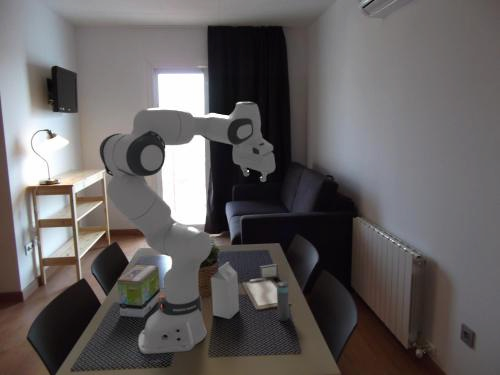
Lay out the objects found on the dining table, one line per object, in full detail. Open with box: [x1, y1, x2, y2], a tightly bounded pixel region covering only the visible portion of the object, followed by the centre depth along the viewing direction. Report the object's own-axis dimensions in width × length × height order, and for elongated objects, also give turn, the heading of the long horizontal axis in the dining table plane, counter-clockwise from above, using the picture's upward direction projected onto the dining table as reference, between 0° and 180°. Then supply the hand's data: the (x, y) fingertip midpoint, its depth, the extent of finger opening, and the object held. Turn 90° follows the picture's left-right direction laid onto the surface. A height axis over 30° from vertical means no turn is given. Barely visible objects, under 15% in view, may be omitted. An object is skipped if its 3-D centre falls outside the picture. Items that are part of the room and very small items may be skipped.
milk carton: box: [210, 261, 240, 320], centre depth 141 cm, size 7×7×19 cm
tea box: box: [117, 264, 161, 318], centre depth 148 cm, size 15×10×15 cm
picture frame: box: [259, 263, 279, 279], centre depth 170 cm, size 8×1×6 cm, turn 104°
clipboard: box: [241, 277, 292, 312], centre depth 156 cm, size 14×24×2 cm, turn 14°
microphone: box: [276, 281, 290, 322], centre depth 136 cm, size 4×4×13 cm
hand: (254, 178), depth 148 cm, fingers open, 8 cm apart
